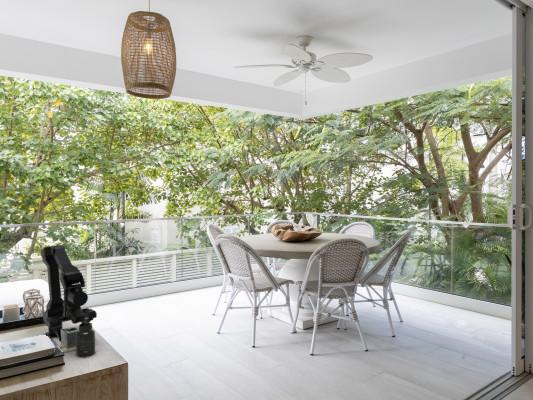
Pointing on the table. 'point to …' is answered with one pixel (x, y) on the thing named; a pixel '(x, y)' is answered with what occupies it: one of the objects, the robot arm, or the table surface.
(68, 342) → the hollow square tube
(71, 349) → the shaft plate
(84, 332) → the supplement bottle
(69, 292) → the robot arm
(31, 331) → the table surface
